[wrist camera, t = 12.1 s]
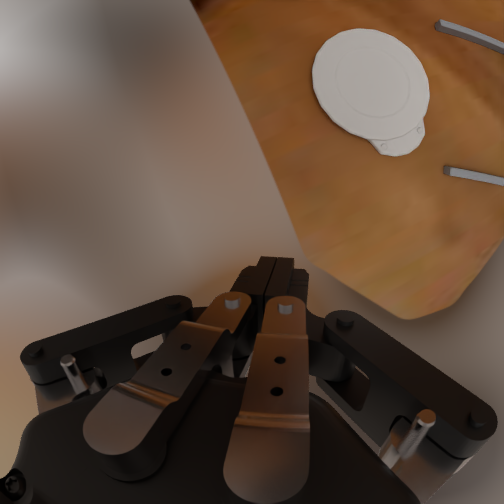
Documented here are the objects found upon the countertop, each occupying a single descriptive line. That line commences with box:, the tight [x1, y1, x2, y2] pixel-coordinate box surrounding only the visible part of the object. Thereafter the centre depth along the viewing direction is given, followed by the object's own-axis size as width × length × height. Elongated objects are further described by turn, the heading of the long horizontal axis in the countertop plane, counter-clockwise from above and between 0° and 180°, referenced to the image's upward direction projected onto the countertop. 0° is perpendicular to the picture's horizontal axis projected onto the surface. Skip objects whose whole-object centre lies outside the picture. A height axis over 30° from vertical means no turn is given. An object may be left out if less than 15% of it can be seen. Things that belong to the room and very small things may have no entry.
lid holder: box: [435, 19, 504, 186], centre depth 28 cm, size 25×16×2 cm, turn 2°
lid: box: [312, 28, 430, 157], centre depth 33 cm, size 17×20×3 cm
